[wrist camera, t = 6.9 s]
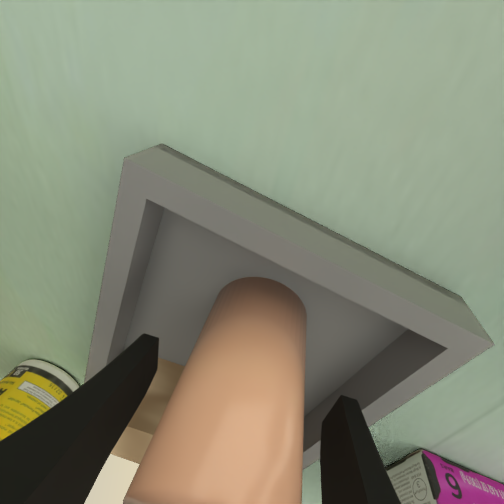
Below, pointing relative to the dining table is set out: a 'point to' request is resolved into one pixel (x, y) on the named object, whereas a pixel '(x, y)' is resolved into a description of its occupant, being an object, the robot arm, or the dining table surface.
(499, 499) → the candy bar box
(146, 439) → the beech block
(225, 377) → the flesh-toned capsule
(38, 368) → the supplement bottle
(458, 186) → the dining table surface
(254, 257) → the tray
